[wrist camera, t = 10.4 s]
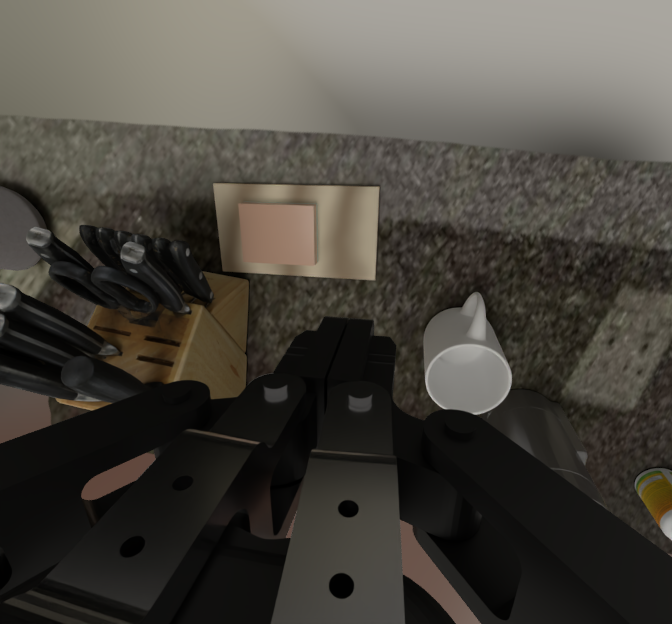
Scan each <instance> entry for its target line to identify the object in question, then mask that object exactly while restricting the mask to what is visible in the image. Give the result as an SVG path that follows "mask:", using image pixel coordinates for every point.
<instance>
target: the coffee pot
mask: <svg viewBox="0 0 672 624" xmlns="http://www.w3.org/2000/svg"><path fill="white" fill-rule="evenodd" d="M33 227H39V228H42V229H46V230H47V227H46V224H45V222H44V219H43V217H42V216H41V214H40V213H39V211H38V210H37V209H36V208H35V207H34V206H33V205H32V204H31V203H30V202H29V201H28V200H27V199H25V198H24V197H23V196H21V195H20V194H18V193H17V192H15V191H12V190H10V189H7V188H5V187H2V186H0V269H8V270H24V269H28V268H30V267H32V266H34V265H36V264H37V262H38V261H39V260H40V259H41V257H40V256H39V255H38V254H37V253H36V252H34V250H33V249H32V248H31V247H30V246H29V244H28V242H27V240H26V235H27V233H28V231H29V230H30V229H32V228H33Z"/></svg>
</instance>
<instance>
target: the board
mask: <svg viewBox="0 0 672 624" xmlns="http://www.w3.org/2000/svg"><path fill="white" fill-rule="evenodd" d="M213 187H214V196H215V205H216V214H217V223H218V232H219V242H220V251H221V260H222V269H223V271H226V272H243V273H260V274H277V275H294V276H310V277H327V278H344V279H361V280H375V279H376V260H377V238H378V215H379V193H380V186H342V185H294V184H246V183H214V184H213ZM242 202H279V203H314V204H317V210H318V262H317V264H316V265H315V266H307V265H288V264H270V263H252V262H243V253H242V241H241V230H240V218H239V207H238V204H239V203H242Z"/></svg>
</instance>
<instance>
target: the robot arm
mask: <svg viewBox="0 0 672 624" xmlns="http://www.w3.org/2000/svg"><path fill="white" fill-rule="evenodd" d="M395 357H396V345H395V343H394V342H393V340H392V339H391V338H390V337H384V336H374V320H369V319H355V318H350V319H349V318H341V317H328V316H325V317H324V318H323V320H322V322H321V324H320V326H319V328H318V330H317V331H310V330H306V331H304V332H303V333H301V334H300V335H298V336H296V337H295V338H294V340H293V342H292V343H291V345H290V347H289V348H288V350H287V351H286V354H285V355H284V356H283V358H282V359H281V361H280V362H279V364H278V366H277V367H276V369H275V370H274V372H273V373H270V374H266V375H262V376H260V377H258V378H256V379H254V380H252V381H251V382H250V383H249V384H248V385H247V386H246V388H245V389H244V390H243V391H242V392H241V394H240V395H239V396H238V397H231V398H220V399H211V395H210V389H209V387H208V386H207V385H206V384H204V383H202V382H199V381H195V380H181V381H175V382H171V383H167V384H164V385H162V386H159V387H156V388H153V389H151V390H148V391H145V392H142V393H140V394H137V395H134V396H131V397H128V398H126V399H123V400H120V401H117V402H115V403H112V404H109V405H106V406H103V407H101V408H98V409H95V410H92V411H90V412H87V413H84V414H81V415H78V416H76V417H73V418H70V419H67V420H65V421H62V422H59V423H56V424H53V425H51V426H48V427H46V428H43V429H40V430H37V431H34V432H31V433H28V434H26V435H23V436H20V437H17V438H15V439H12V440H9V441H6V442H4V443H1V444H0V624H456V623H455V622H454V621H453V619H452V618H451V617H450V616H449V615H448V613H447V612H446V611H445V610H444V609H443V608H442V607H441V605H440V604H439V603H438V602H437V601H436V600H435V599H434V598H433V597H432V596H431V595H430V594H428V593H427V592H426V591H425V590H424V589H423V588H422V587H420V586H419V585H418V584H416V583H415V582H414V581H412V580H411V579H410V578H408V577H406V576H405V575H403V573H402V553H401V533H400V520H402V521H405V522H407V523H409V524H411V525H413V532H414V535H415V538H416V540H417V541H418V543H419V544H420V545H421V547H422V548H423V549H424V551H425V552H426V553H427V554H428V556H429V557H430V558H431V560H432V561H433V562H434V563H435V565H436V566H437V567H438V569H439V570H440V571H441V573H442V574H443V575H444V576H445V578H446V579H447V580H448V581H449V583H450V584H451V585H452V587H453V588H454V589H455V590H456V592H457V593H458V594H459V596H460V597H461V598H462V599H463V601H464V602H465V603H466V604H467V606H468V607H469V608H470V610H471V611H472V612H473V613H474V615H475V616H476V617H477V619H478V620H479V621H480V623H481V624H672V557H671V556H670V555H668V554H667V553H665V552H664V551H663V550H661V549H660V548H659V547H657V546H656V545H655V544H653V543H652V542H650V541H649V540H648V539H646V538H645V537H644V536H642V535H641V534H639V533H638V532H637V531H635V530H634V529H633V528H631V527H630V526H629V525H627V524H626V523H624V522H623V521H622V520H620V519H619V518H618V517H616V516H615V515H613V514H612V513H611V512H609V510H608V508H607V506H606V504H605V502H604V500H603V499H602V497H601V495H600V493H599V491H598V489H597V488H596V486H595V484H594V482H593V480H592V478H591V476H590V474H589V473H588V471H587V469H586V467H585V463H586V460H587V457H588V455H587V451H586V450H585V448H584V446H583V444H582V443H581V441H580V439H579V437H578V436H577V434H576V432H575V430H574V428H573V427H572V425H571V423H570V421H569V420H568V418H567V416H566V414H565V413H564V411H563V409H562V407H561V406H560V404H559V403H556V402H551V401H549V400H548V399H547V398H545V397H544V396H543V395H541V394H539V393H537V392H534V391H531V390H524V389H516V390H510V391H509V393H508V395H507V396H506V398H505V399H504V400H503V401H502V402H501V403H500V404H499V405H498V406H496V407H495V408H493V409H491V410H490V411H487V412H485V413H483V416H482V418H480V417H478V416H476V415H474V414H472V413H469V412H466V411H462V410H455V409H445V410H439V411H436V412H433V413H431V414H430V415H429V416H427V418H426V419H425V421H424V420H421V419H418V418H415V417H412V416H410V415H408V414H406V413H405V412H403V411H402V410H401V409H399V408H398V407H397V406H396V404H395V403H394V401H393V385H394V371H395ZM153 449H154V454H155V458H156V460H155V461H154V462H153V463H152V464H151V465H150V466H149V468H147V469H146V470H145V472H144V473H143V474H142V475H141V476H140V477H139V478H138V479H137V480H136V481H134V482H132V483H130V484H128V485H126V486H123V487H122V488H119V489H117V490H115V491H113V492H111V493H109V494H107V495H105V496H103V497H101V498H98V499H95V500H84V499H82V498H81V493H82V490H83V488H84V486H85V484H86V483H87V482H88V481H89V480H90V479H91V478H93V477H94V476H96V475H98V474H100V473H102V472H104V471H107V470H109V469H111V468H113V467H116V466H118V465H120V464H122V463H124V462H127V461H129V460H131V459H133V458H135V457H137V456H140V455H142V454H144V453H146V452H149V451H151V450H153ZM296 511H297V513H296ZM295 514H296V517H295V521H294V526H293V530H292V534H291V538H286V535H287V533H288V531H289V528H290V526H291V523H292V521H293V519H294V516H295Z"/></svg>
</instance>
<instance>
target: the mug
mask: <svg viewBox="0 0 672 624" xmlns="http://www.w3.org/2000/svg"><path fill="white" fill-rule="evenodd" d="M423 345H424V366H425V383H426V388H427V391H428V393H429V395H430V396H431V398H432V399H433V400H434V402H435V403H437V404H438V405H439V406H440V407H442V408H443V409H455V410H462V411H466V412H469V413H472V414H474V415H476V414H481V413H485V412H487V411H490V410H491V409H493V408H495V407H496V406H498V405H499V404H500V403H501V402H502V401H503V400H504V399H505V398H506V396H507V395H508V393H509V391H510V388H511V384H512V374H511V370H510V367H509V365H508V362H507V360H506V358H505V355H504V353H503V351H502V349H501V346H500V344H499V342H498V339H497V337H496V335H495V333H494V330H493V328H492V326H491V325H490V323H489V322H488V320H487V319H486V311H485V305H484V301H483V298H482V296H481V294H480V293H478V292H474V293H473V294H471V295H470V296H469V297H468V299H467V300H466V302H465V304H464V305H463V307H457V308H450V309H447V310H444V311H442V312H440V313H438V314H437V315H436V316H434V317H433V318H432V319H431V320H430V322H429V323H428V325H427V327H426V329H425V332H424V339H423Z"/></svg>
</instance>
